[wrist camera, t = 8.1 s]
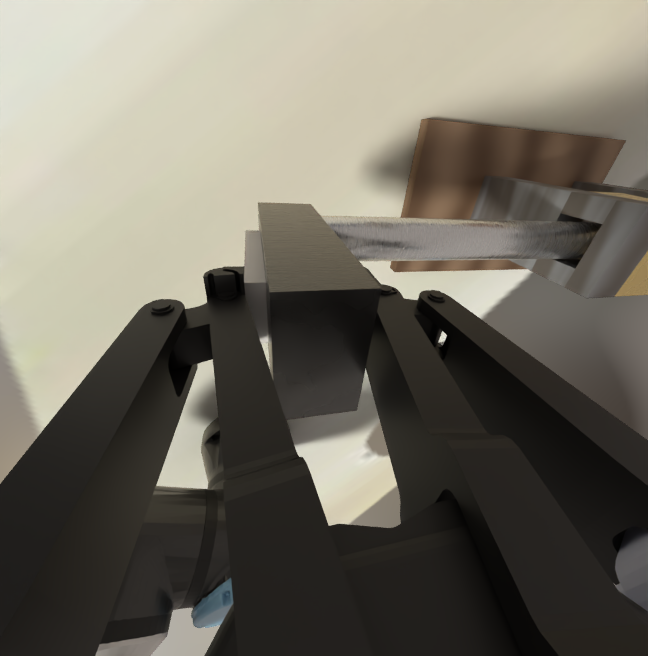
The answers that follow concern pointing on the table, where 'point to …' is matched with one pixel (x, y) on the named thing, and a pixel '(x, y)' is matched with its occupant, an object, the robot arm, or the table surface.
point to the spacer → (644, 276)
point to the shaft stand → (528, 197)
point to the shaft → (365, 286)
